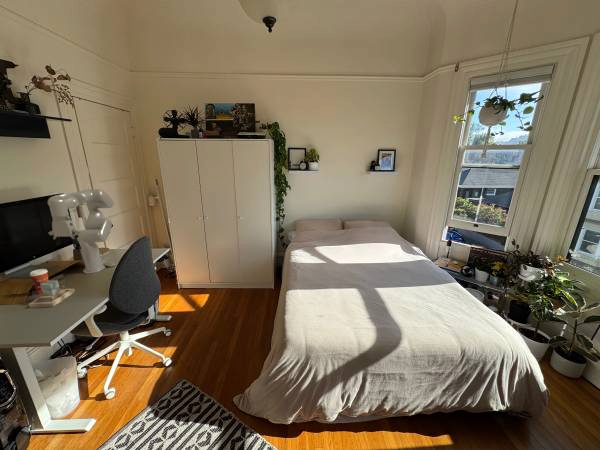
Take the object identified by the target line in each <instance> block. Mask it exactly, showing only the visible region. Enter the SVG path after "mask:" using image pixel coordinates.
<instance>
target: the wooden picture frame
mask: <svg viewBox="0 0 600 450" xmlns="http://www.w3.org/2000/svg"><path fill="white" fill-rule="evenodd" d="M64 289H65V292H64V293H62V294H60V295H59V296H57V297H56V298H54V299H52V300H39V297H38V298H36V299H35V300H33V301H30V303H28V308H33V309H34V308H49V307H50V308H51V307H52V308H53V307H54V306H56V305H57V304H60V303H61V302H62V301H64V300H65V299H67V298H68V297H70V296H71V295H73V294H74V293H75V292H76V291H75V288H64Z"/></svg>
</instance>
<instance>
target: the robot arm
mask: <svg viewBox="0 0 600 450" xmlns="http://www.w3.org/2000/svg"><path fill="white" fill-rule="evenodd" d="M83 204H85V205H86V207H87V209H88V212H89V213H88V216H87V218H86V221H85V223H84V229H81V230H76V226H75V225H74V222H73V220H72V216H70V214H69V211H68V209H74V208H77V207H78V206H79V205H83ZM114 204H115V202H114V200H113V198H112V197H111V196H110V195H109V194H108V193H107V192H106V191H105V190H103V189H98V188H97V189H95V188H94V189H93V188H91V189H89V188H88V189H84V190H80V191H76V192H69V193H63V194H57V195H54V196H51V197H49V198H48V199H47V205H48V206H49V210H50V214H51V217H52V222H51V227H52V230H50V231H49V232H47V233H48V234H49V236H50V237H51V239H53V240H54V242H55V246H60V245H62V240H61V237H64V238H65V237H70V238H71V239H72V240H71V242H72V245H73V246H76V245H78V244H79V245H80V249H81V253H82V258H83V262H84V269H83V270H82V271H83V273H84V274H95V273H99V272H101V270H102V271H103V269H104V268H106V266H105V264H104V263H106V260H102V258H101V253H100V249H99V245H98V244H97V243H103V242H106V241H107V240H108V238H109V235H110V233H111V230H112V228H113V226H112V225H113V223H112V221H111V219H110V218H108V217H107V218H106V217H104V213H103V212H102V211H101V210H100V209H111V208H113V207H114ZM103 264H104V265H103ZM104 270H105V269H104Z"/></svg>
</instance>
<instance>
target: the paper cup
mask: <svg viewBox="0 0 600 450" xmlns="http://www.w3.org/2000/svg"><path fill="white" fill-rule="evenodd" d="M48 272H49V271H48V269H46V268H39V269H35V270H32V271H31V272H30V273H29V276H30V277H31V280H32V283H33V282H35V284H34V283H33V285H34V289H35V290H36V293H37V294H39V295H41V294H42V295H43V292H42V288H41V284H43V283H45V282H47V281H50V280H49V275H48Z"/></svg>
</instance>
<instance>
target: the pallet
mask: <svg viewBox="0 0 600 450" xmlns="http://www.w3.org/2000/svg"><path fill="white" fill-rule="evenodd" d="M41 288H42V292H43V293H42V295H40V296H38V298H39V300H52V299H54V298H56V297H57V296H59V295H60V294H62V293H64V292H65V289H66V288H64V289H63V288H60V285H59V281H58V280H49V281H47V282H45V283H43V284H41Z"/></svg>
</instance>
